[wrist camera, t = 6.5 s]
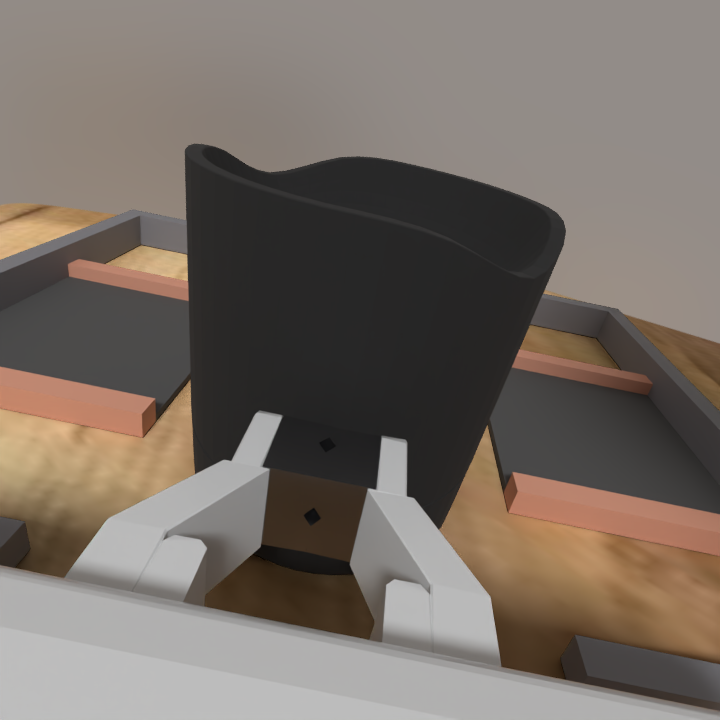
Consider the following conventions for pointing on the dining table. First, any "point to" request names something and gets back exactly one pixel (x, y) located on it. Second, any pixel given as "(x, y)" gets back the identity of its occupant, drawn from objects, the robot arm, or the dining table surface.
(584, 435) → the box
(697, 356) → the dining table surface
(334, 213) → the pen holder
